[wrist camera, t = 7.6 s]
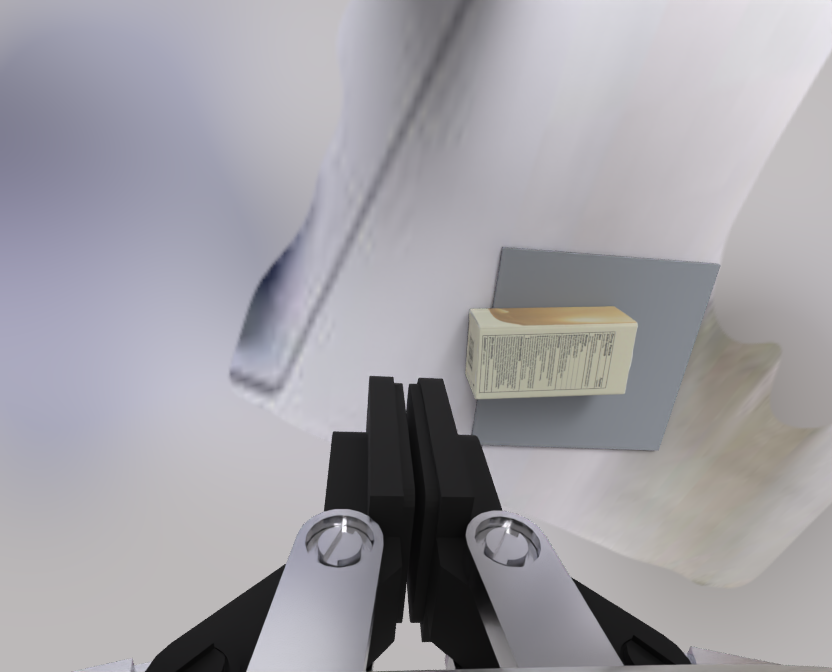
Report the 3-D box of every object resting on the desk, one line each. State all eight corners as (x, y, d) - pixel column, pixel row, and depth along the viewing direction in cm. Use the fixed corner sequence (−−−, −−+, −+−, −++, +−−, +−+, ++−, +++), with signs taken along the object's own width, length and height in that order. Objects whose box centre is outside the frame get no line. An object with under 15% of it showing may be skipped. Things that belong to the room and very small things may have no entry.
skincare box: (463, 375, 44) (602, 374, 45) (472, 401, 40) (625, 399, 41) (468, 303, 41) (616, 304, 43) (479, 323, 37) (641, 323, 39)
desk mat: (502, 247, 40) (503, 248, 40) (717, 263, 42) (720, 265, 42) (470, 441, 47) (471, 444, 47) (656, 447, 49) (658, 450, 49)
